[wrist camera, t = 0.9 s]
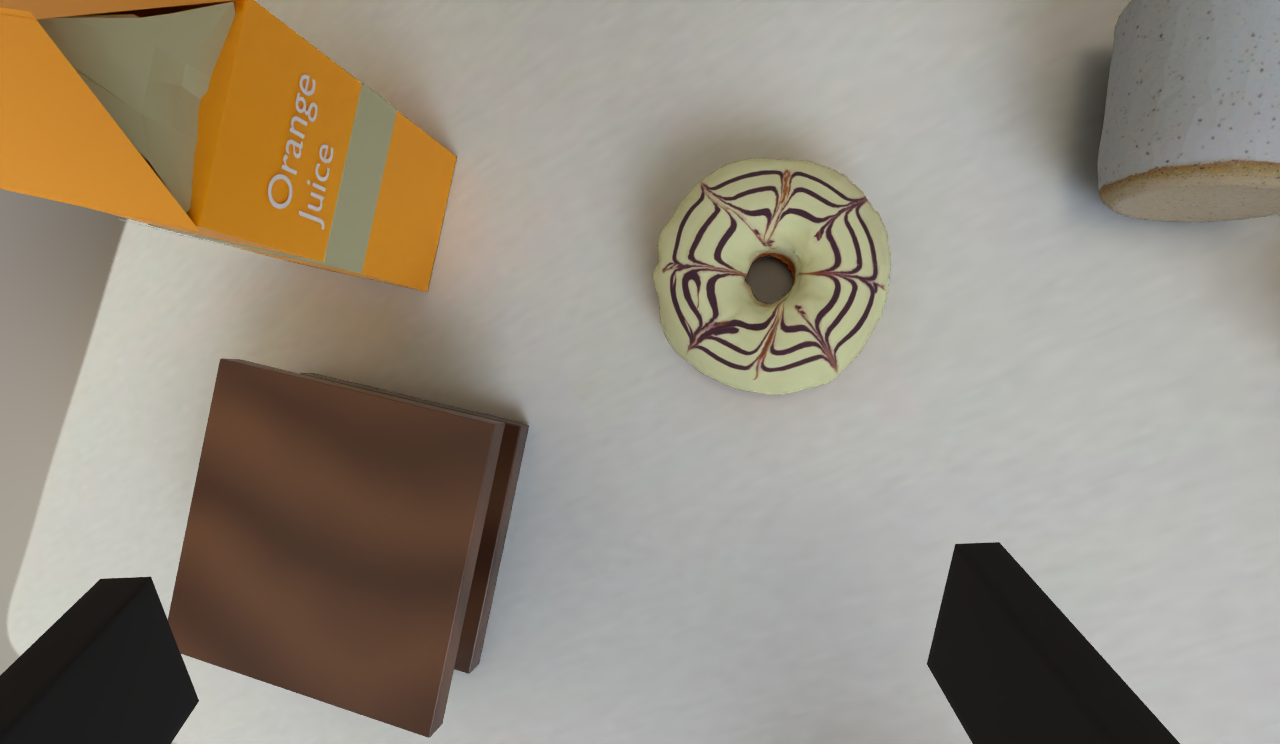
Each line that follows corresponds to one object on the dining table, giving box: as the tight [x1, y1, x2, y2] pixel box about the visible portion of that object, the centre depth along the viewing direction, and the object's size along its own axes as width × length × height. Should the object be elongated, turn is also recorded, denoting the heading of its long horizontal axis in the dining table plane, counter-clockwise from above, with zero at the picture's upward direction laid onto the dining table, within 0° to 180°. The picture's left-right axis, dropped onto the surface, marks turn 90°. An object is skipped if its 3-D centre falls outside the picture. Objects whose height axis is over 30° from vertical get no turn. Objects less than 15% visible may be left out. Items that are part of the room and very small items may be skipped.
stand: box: [168, 359, 529, 737], centre depth 32 cm, size 14×14×6 cm
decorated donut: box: [653, 158, 891, 395], centre depth 30 cm, size 10×11×4 cm
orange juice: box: [0, 0, 457, 292], centre depth 25 cm, size 8×9×20 cm
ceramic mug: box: [1097, 0, 1280, 222], centre depth 25 cm, size 11×8×8 cm
